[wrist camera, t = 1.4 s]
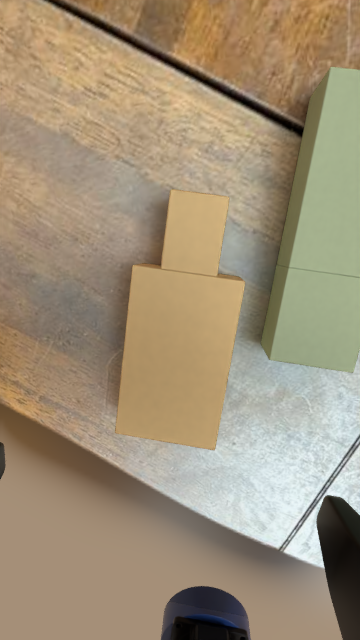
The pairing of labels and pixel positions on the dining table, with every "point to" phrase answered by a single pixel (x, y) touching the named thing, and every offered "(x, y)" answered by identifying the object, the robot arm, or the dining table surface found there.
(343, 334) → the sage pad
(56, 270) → the dining table surface
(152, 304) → the sand pad
